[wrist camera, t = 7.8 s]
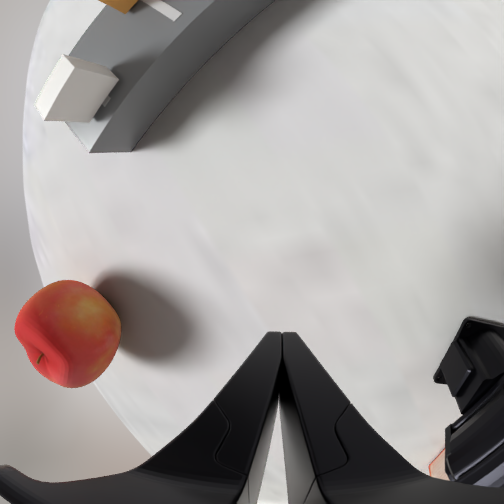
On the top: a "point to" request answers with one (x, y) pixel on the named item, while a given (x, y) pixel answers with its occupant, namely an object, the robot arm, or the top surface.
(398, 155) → the top surface
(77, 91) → the tab
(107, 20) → the grey cube slider board
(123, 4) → the tab
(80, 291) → the apple
